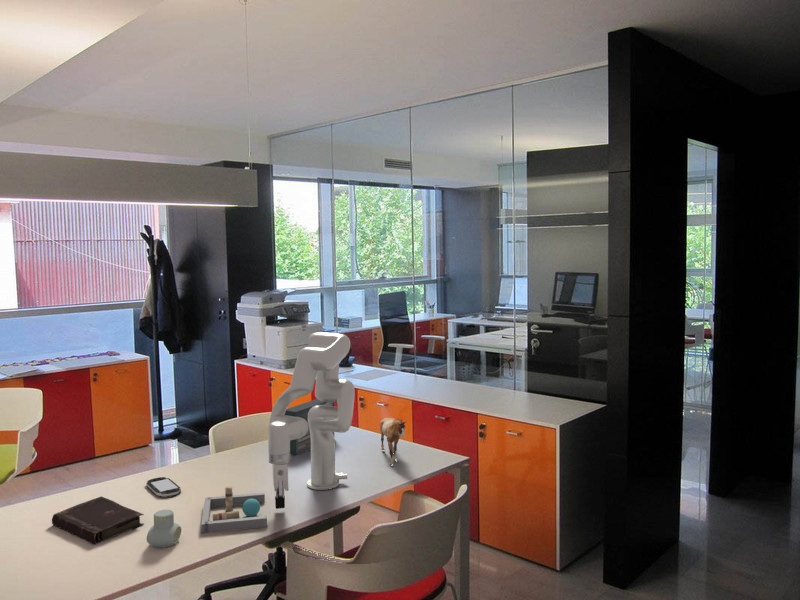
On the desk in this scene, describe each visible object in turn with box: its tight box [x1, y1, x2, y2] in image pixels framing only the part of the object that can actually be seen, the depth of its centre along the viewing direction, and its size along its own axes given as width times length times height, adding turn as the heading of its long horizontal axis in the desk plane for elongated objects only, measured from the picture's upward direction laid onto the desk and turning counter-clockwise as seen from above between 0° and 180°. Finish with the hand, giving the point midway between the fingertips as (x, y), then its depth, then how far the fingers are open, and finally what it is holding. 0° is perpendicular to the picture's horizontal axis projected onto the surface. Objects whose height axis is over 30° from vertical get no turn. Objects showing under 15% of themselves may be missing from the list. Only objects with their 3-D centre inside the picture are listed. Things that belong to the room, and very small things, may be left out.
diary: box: [51, 496, 145, 546], centre depth 217 cm, size 19×25×5 cm
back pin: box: [224, 485, 234, 512], centre depth 228 cm, size 2×2×9 cm
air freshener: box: [146, 509, 182, 548], centre depth 203 cm, size 11×8×10 cm
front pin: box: [212, 510, 240, 521], centre depth 221 cm, size 2×2×9 cm
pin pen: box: [200, 492, 268, 534], centre depth 224 cm, size 21×23×3 cm
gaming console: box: [145, 476, 182, 498], centre depth 249 cm, size 19×9×2 cm, turn 38°
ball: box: [241, 499, 261, 517], centre depth 224 cm, size 6×6×6 cm
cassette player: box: [285, 398, 335, 456], centre depth 302 cm, size 29×7×20 cm, turn 150°
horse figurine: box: [379, 416, 407, 465], centre depth 285 cm, size 31×8×21 cm, turn 10°
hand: (280, 507), depth 228 cm, fingers closed
